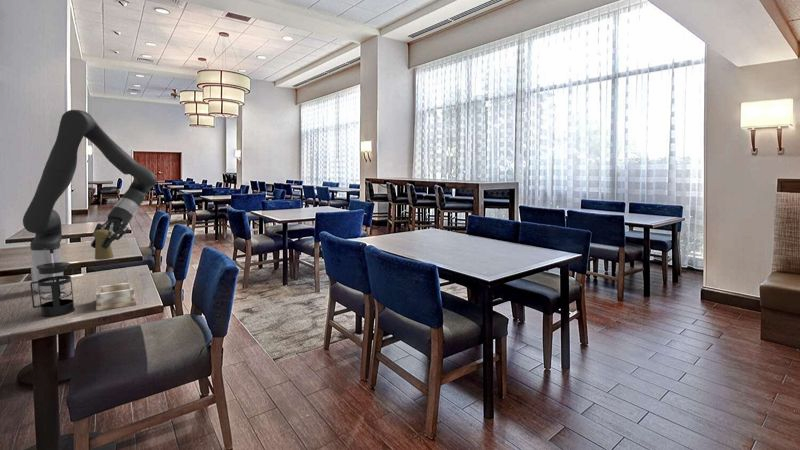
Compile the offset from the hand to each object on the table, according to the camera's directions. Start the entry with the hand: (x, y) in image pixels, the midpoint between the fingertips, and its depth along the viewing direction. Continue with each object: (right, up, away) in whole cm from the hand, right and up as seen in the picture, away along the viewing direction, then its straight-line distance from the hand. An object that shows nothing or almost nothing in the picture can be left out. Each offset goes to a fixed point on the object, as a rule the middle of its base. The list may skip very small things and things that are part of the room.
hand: (98, 247), depth 159 cm
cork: (0, -4, +3) cm, 5 cm away
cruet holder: (+8, -21, -1) cm, 22 cm away
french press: (-6, -22, -12) cm, 26 cm away
